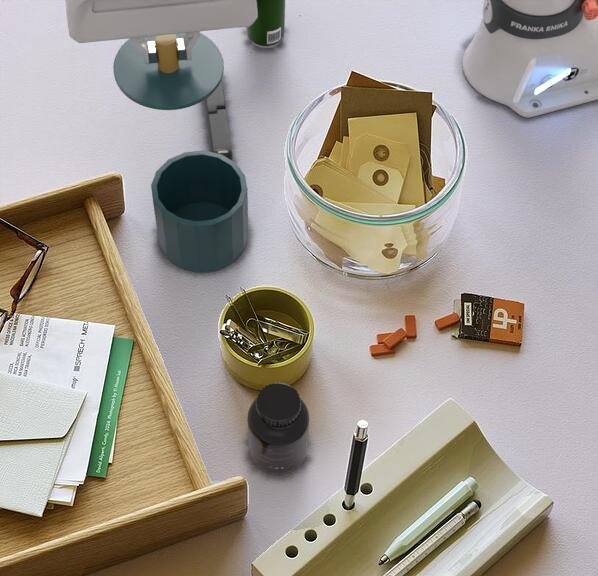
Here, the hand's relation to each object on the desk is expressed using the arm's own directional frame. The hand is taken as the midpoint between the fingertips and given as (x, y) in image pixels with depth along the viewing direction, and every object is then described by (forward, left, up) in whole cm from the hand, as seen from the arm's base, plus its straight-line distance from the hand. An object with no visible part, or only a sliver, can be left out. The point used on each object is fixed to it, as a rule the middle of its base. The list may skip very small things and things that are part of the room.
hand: (167, 57), depth 117 cm
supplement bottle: (-7, +39, -23) cm, 46 cm away
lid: (0, 0, -2) cm, 2 cm away
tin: (-2, +8, -23) cm, 24 cm away
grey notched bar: (-6, -11, -23) cm, 26 cm away
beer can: (-15, -26, -23) cm, 38 cm away
